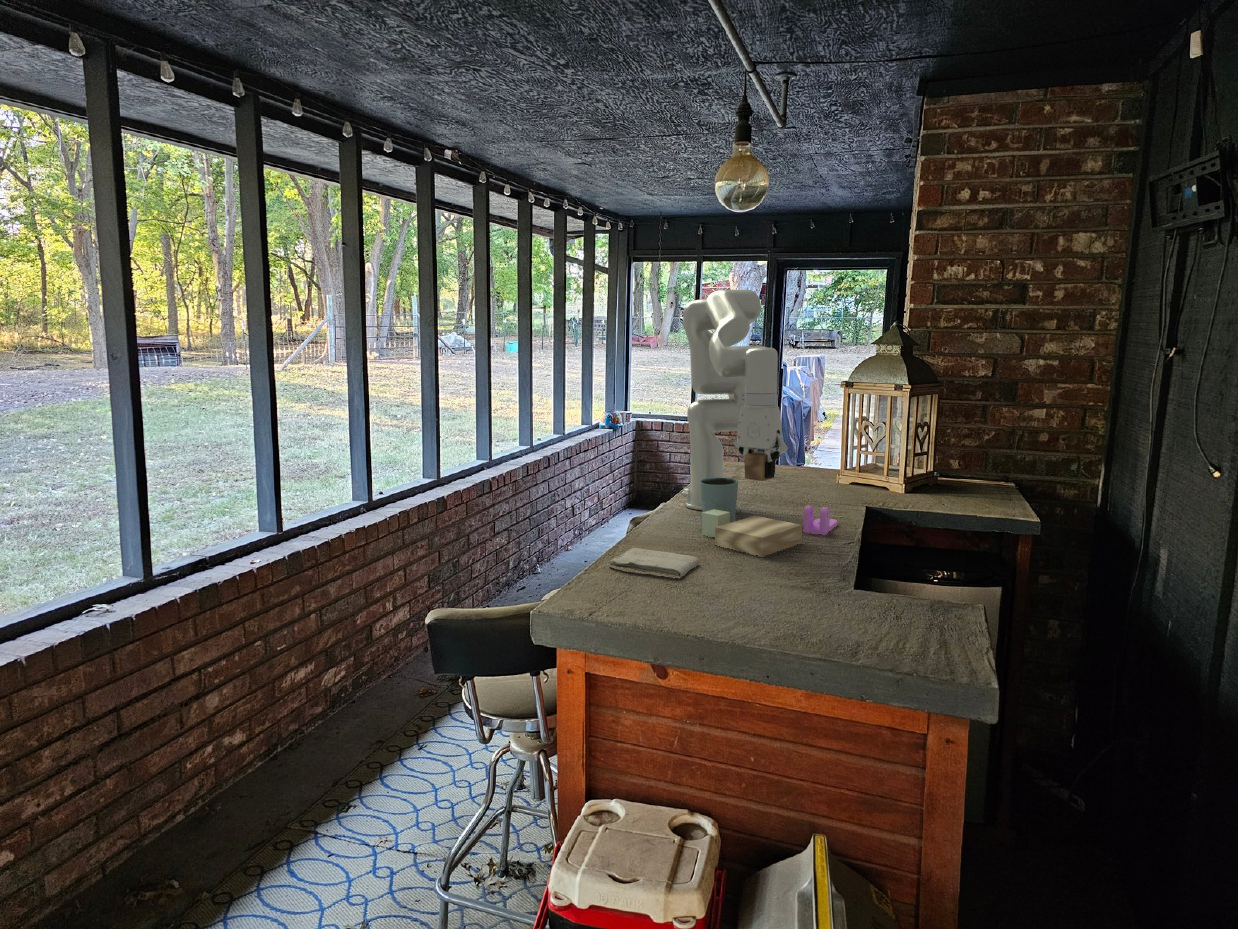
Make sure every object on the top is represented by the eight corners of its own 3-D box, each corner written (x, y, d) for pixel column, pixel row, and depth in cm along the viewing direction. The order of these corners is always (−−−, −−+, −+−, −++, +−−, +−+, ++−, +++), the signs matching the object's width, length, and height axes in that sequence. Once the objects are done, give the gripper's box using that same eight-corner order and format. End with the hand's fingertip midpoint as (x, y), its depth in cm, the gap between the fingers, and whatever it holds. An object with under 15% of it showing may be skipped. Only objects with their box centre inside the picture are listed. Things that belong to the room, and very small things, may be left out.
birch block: (715, 547, 189) (715, 527, 188) (754, 534, 199) (755, 515, 199) (762, 558, 179) (762, 537, 178) (801, 544, 189) (802, 525, 189)
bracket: (824, 535, 196) (825, 509, 195) (803, 533, 199) (804, 506, 198) (839, 524, 207) (840, 499, 206) (818, 522, 210) (819, 497, 209)
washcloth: (629, 557, 182) (629, 544, 181) (701, 566, 174) (701, 553, 173) (606, 571, 171) (605, 558, 171) (681, 582, 163) (681, 568, 163)
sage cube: (702, 535, 198) (702, 512, 197) (714, 531, 201) (714, 509, 200) (717, 539, 195) (717, 515, 193) (729, 535, 198) (729, 512, 197)
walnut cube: (744, 478, 186) (745, 453, 185) (756, 475, 189) (757, 451, 188) (762, 481, 183) (762, 456, 182) (774, 478, 186) (774, 453, 185)
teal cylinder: (742, 521, 211) (742, 478, 209) (731, 530, 202) (731, 485, 200) (706, 518, 215) (706, 476, 213) (694, 527, 206) (694, 483, 204)
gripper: (722, 399, 186) (721, 474, 189) (782, 403, 174) (781, 483, 177) (740, 397, 191) (739, 470, 194) (800, 401, 180) (798, 478, 183)
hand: (759, 475), depth 186 cm, fingers closed on walnut cube, 5 cm apart
